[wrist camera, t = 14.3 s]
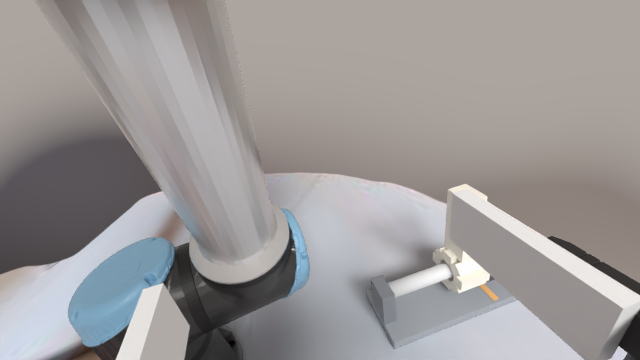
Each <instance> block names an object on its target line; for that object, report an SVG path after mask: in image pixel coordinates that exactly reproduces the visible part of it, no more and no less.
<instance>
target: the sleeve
mask: <svg viewBox="0 0 640 360" xmlns="http://www.w3.org/2000/svg"><path fill="white" fill-rule="evenodd" d="M464 189H468V190H469V191H471V192H473V193H474V194H476V195H477V196H479V197H481V198H482V199H484V200H486V201H487V196H486V195H484V194H482V193H480V192H479V191H477V190H475V189H474V188H472V187H470V186H469V185H467V184H464V185H460V186H457V187H454V188H451V189H448V197H447V213H446V229H445V245H444V247H441V248H438V249H435V252H433V261H434V262H435V263H436V264H437V265H439V264H442V263H445V262H446V263H447V264H448V265H449V266H450V268H451V270H452V272H453V275H454V276H453V277H451V278H449V279H446V280H443V281H442V283H443V284H444V285H445V286H446V287H447V288H448V289H451V290H452V292H453V293H461V292H463V291H466V290H469V289H471V288H474V287H476V286H479V285H482V284H484V283H486V281H489V278H490V274H489V273H488V272H486V271H485V270H484V269H483V268H482V267H481V266H480V265H479V264H478V263H476V262H475V261H474V260H473V259H472V258H471V257H470V256H469V255H468V254H466V253H465V252H464V251H463V250H462V249H461V248H460V247H459V246H457V245H456V244H455V243H454V242H453V241H452V240H451V239H450V238H449V235H450V221H451V207H452V193H455V192H458V191H461V190H464ZM434 266H436V265H434Z"/></svg>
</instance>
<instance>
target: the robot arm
mask: <svg viewBox="0 0 640 360" xmlns="http://www.w3.org/2000/svg"><path fill="white" fill-rule="evenodd" d="M34 1H35V2H36V4H37V5H38V7H39V8H40V10H41V11H42V13H43V14H44V16H45V17H46V19H47V20H48V22H49V23H50V25H51V26H52V28H53V29H54V31H55V32H56V34H57V35H58V37H59V38H60V39H61V41H62V42H63V44H64V45H65V47H66V48H67V50H68V51H69V53H70V54H71V56H72V57H73V59H74V60H75V62H76V63H77V65H78V66H79V68H80V69H81V71H82V72H83V74H84V75H85V77H86V78H87V80H88V81H89V83H90V84H91V86H92V87H93V89H94V90H95V92H96V93H97V95H98V96H99V98H100V99H101V101H102V102H103V104H104V105H105V106H106V108H107V109H108V111H109V112H110V114H111V115H112V117H113V118H114V120H115V121H116V123H117V124H118V126H119V127H120V129H121V130H122V132H123V133H124V135H125V136H126V138H127V139H128V141H129V142H130V144H131V145H132V147H133V148H134V150H135V151H136V152H137V154H138V156H139V157H140V159H141V160H142V161H143V163H144V165H145V166H146V167H147V169H148V170H149V172H150V173H151V175H152V176H153V178H154V179H155V181H156V182H157V184H158V185H159V187H160V188H161V190H162V191H163V193H164V194H165V196H166V197H167V199H168V200H169V202H170V203H171V205H172V206H173V208H174V209H175V211H176V212H177V214H178V215H179V217H180V218H181V220H182V221H183V222H184V224H185V225H186V227H187V228H188V230H189V231H190V233H191V234H192V235H191V238H190V242H189V243H186V244H183V245H180V246H177V247H174V245H173V243H171V242H169V241H168V240H167V239H165V238H160V237H159V238H154V237H153V238H147V239H144V240H141V241H138V242H136V243H133V244H131V245H129V246H127V247H125V248H123V249H122V250H120V251H118V252H117V253H115V254H114V255H112V256H110V257H109V258H108V259H106V260H105V261H104V262H102V263H101V264H100V265H99V266H98V267H97V268H96V269H94V270H93V271H92V272H91V273H90V274H89V275H88V276H87V277H86V278H85V279H84V281H83V282H82V283H81V284H80V286H79V287H78V288H77V290H76V291H75V293H74V295H73V297H72V299H71V301H70V304H69V308H68V318H69V321H70V323H71V325H72V326H73V327H74V329H75V330H76V332H77V333H78V335H79V336H80V337H81V341H82V343H83V344H84V345H86V346H87V347H90V348H91V349H92V350H93V351H94V352H95V353H96V354H97V355H98V356H99V357H100V358H101V360H243V354H242V349H241V346H240V344H239V342H238V340H237V338H236V336H235V335H234V334H233V332H232V331H231V330H230V329H229V328H227V327H226V326H224V325H225V324H227V323H229V322H231V321H233V320H236V319H238V318H240V317H242V316H244V315H246V314H248V313H251V312H253V311H255V310H257V309H259V308H261V307H263V306H266V305H268V304H270V303H272V302H274V301H276V300H278V299H281V298H286V297H288V296H290V295H291V294H292V293H293V292H294V291H296V290H298V289H300V288H302V287H303V286H304V285H305V284H306V282H307V280H308V277H309V269H310V267H309V258H308V255H307V253H306V244H305V241H304V238H303V235H302V232H301V229H300V227H299V225H298V223H297V221H296V219H295V217H294V216H293V215H292V213H291V212H290V211H288V210H287V209H282V208H281V209H280V208H279V207H278V206H277V205H275V204H274V203H272V202H271V201H270V198H269V194H268V189H267V185H266V181H265V176H264V172H263V168H262V163H261V159H260V154H259V150H258V145H257V141H256V136H255V132H254V128H253V123H252V119H251V114H250V110H249V105H248V101H247V97H246V92H245V88H244V83H243V79H242V75H241V70H240V66H239V61H238V57H237V52H236V48H235V44H234V39H233V35H232V30H231V26H230V22H229V17H228V13H227V8H226V4H225V0H34ZM449 238H450V239H451V240H452V241H453V242H454V243H455V244H456V245H457V246H459V247H460V248H461V249H462V250H463V251H464V252H465V253H466V254H468V255H469V256H470V257H471V258H472V259H473V260H474V261H475V262H476V263H478V264H479V265H480V266H481V267H482V268H483V269H484V270H485V271H486V272H488V273H489V274H490V275H491V276H492V277H493V278H494V279H495V280H496V281H498V282H499V283H500V284H501V285H502V286H503V287H504V288H505V289H507V290H508V291H509V292H510V293H511V294H512V295H513V296H514V297H515V298H517V299H518V300H519V301H520V302H521V303H522V304H523V305H524V306H525V307H527V308H528V309H529V310H530V311H531V312H532V313H533V314H534V315H535V316H537V317H538V318H539V319H540V320H541V321H542V322H543V323H544V324H546V325H547V326H548V327H549V328H550V329H551V330H552V331H553V332H554V333H556V334H557V335H558V336H559V337H560V338H561V339H562V340H563V341H564V342H566V343H567V344H568V345H569V346H570V347H571V348H572V349H573V350H574V351H576V352H577V353H578V354H579V355H580V356H581V357H582V358H583V359H585V360H607V359H610V358H612V356H613V354H614V353H615V351H616V349H617V347H618V346H620V347H621V348H622V349H624V350H625V351H626V352H627V355H626V357H625V358H624V360H640V283H638V282H636V281H635V280H633V279H631V278H629V277H628V276H626V275H624V274H623V273H621V272H619V271H617V270H616V269H614V268H612V267H611V266H609V265H607V264H606V263H604V262H600V260H599V259H597V258H595V257H594V256H592V255H590V254H587V253H586V252H585V251H583V250H582V249H580V248H578V247H577V246H575V245H573V244H571V243H569V242H567V241H564V240H561V239H559V238H556V237H553V236H551V237H548V238H546V237H544V236H542V235H541V234H539V233H538V232H536V231H534V230H532V229H531V228H529V227H528V226H526V225H525V224H523V223H521V222H519V221H518V220H516V219H515V218H513V217H512V216H510V215H508V214H507V213H505V212H503V211H502V210H500V209H499V208H497V207H495V206H494V205H492V204H490V203H489V202H487V201H486V200H484V199H482V198H481V197H479V196H477V195H476V194H474V193H473V192H471V191H469V190H468V189H464V190H461V191H458V192H455V193H452V207H451V221H450V235H449Z"/></svg>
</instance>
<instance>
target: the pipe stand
mask: <svg viewBox="0 0 640 360" xmlns="http://www.w3.org/2000/svg"><path fill="white" fill-rule="evenodd" d="M453 276H454V275H453V272H452V270H451V268H450V266H449V265H448V264H447V263H446V262H445V263H442V264H439V265H436V266H433V267H431V268H428V269H425V270H422V271H419V272H416V273H414V274H411V275H408V276H405V277H402V278H400V279H397V280H394V281H391V282H388V283H387V282H386V280H385V278H384V277H383V275H381V276H379V277H376V278H373V279H371V285H372V289H369V290H366V292H367V297H368V299H369V301H370V303H371V305H372V307H373V309H374V311H375V312H376V314H377V316H378V318H379V320H380V322H381V324H382V326H383V328H384V330H385V332H386V333H387V335H388V337H389V339H390V341H391V343H392V345H393V347H394V349H396V348H398V347H401V346H403V345H406V344H408V343H411V342H413V341H416V340H418V339H421V338H423V337H426V336H428V335H431V334H433V333H436V332H438V331H441V330H443V329H446V328H448V327H451V326H453V325H456V324H458V323H461V322H463V321H466V320H468V319H471V318H473V317H476V316H478V315H481V314H483V313H486V312H488V311H491V310H493V309H496V308H498V307H501V306H503V305H506V304H508V303H511V302H513V301H516V300H518V299H517V298H515V297H514V296H513V295H512V294H511V293H510V292H509V291H508V290H507V289H505V288H504V287H503V286H502V285H501V284H500V283H499V282H498V281H496V280H492V281H490V282H487V283H484V284H482V285H479V286H476V287H474V288H471V289H469V290H466V291H463V292H461V293H453V292H452V290H451V289H448V288H447V287H446V286H445V285H444V284H443V283H442V281H443V280H446V279H449V278H451V277H453Z"/></svg>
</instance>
